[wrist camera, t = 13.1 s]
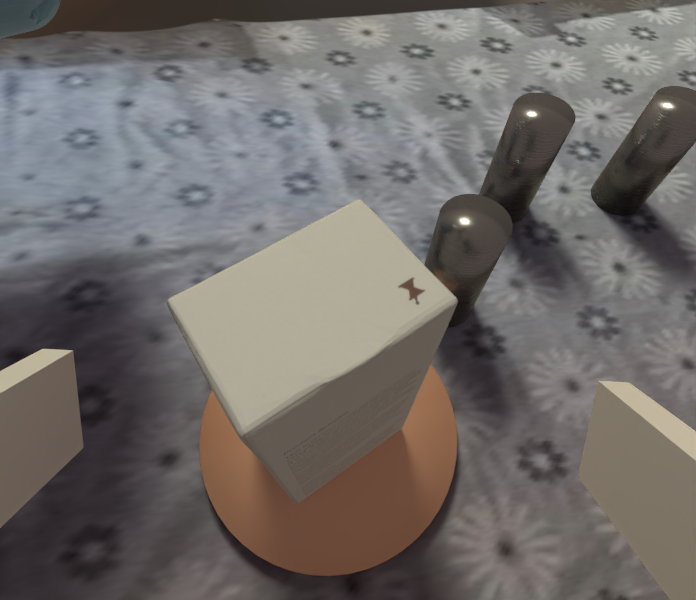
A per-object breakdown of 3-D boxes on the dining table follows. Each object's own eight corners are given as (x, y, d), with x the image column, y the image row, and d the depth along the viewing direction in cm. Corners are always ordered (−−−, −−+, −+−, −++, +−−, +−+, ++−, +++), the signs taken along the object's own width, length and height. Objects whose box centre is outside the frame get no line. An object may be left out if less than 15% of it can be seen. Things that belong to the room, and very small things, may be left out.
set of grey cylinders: (367, 246, 27) (375, 157, 21) (629, 118, 34) (691, 23, 28) (639, 593, 19) (784, 608, 13) (920, 329, 25) (1102, 256, 19)
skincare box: (352, 359, 23) (365, 190, 12) (404, 429, 21) (469, 300, 11) (245, 427, 21) (158, 295, 11) (293, 509, 19) (243, 447, 9)
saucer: (166, 390, 23) (160, 384, 22) (366, 286, 26) (367, 279, 25) (275, 643, 18) (272, 646, 17) (505, 473, 21) (511, 470, 20)
